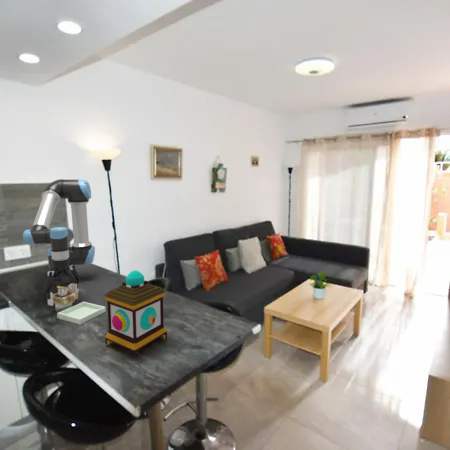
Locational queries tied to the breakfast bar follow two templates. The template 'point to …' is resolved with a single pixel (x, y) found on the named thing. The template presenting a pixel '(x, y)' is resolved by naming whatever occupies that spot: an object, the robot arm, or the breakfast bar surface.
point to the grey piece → (62, 293)
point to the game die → (71, 288)
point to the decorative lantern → (135, 313)
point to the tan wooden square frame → (65, 298)
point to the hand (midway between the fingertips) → (63, 300)
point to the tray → (81, 313)
